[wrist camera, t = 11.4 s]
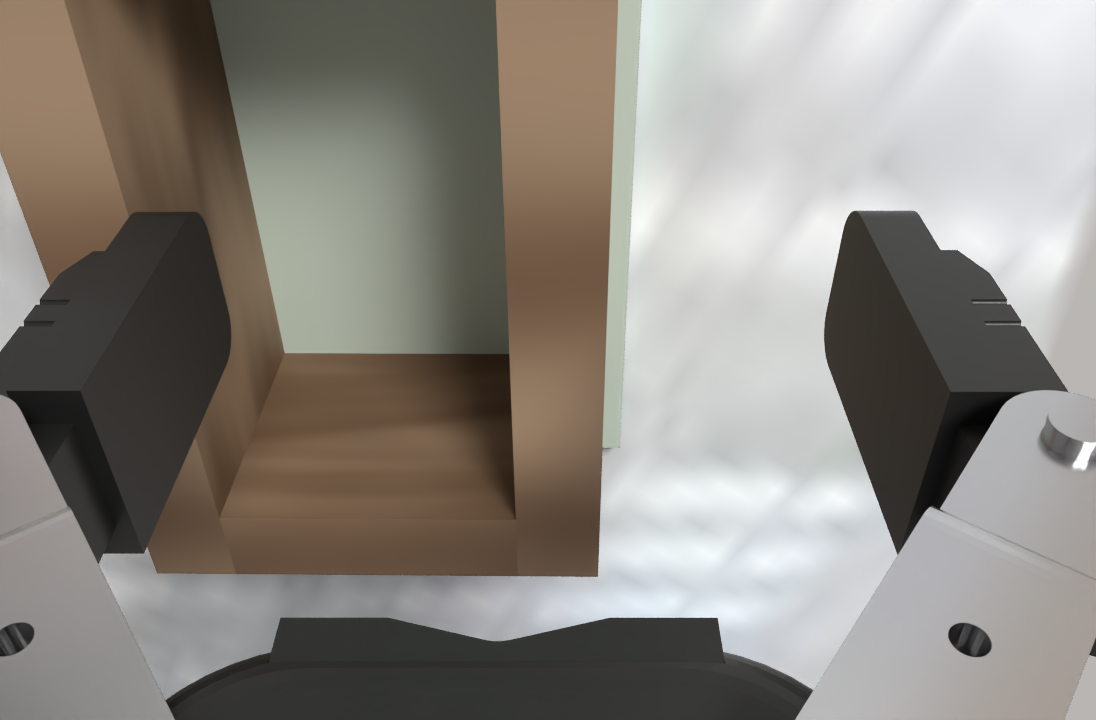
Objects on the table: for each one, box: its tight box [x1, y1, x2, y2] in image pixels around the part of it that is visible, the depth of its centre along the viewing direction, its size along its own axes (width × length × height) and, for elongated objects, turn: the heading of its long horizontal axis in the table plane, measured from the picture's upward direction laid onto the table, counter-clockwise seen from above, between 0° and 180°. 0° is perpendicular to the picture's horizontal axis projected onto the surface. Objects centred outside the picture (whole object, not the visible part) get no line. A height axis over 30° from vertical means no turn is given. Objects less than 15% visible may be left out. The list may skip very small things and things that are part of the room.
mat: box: [210, 0, 642, 448], centre depth 22 cm, size 18×12×1 cm, turn 1°
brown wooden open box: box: [0, 0, 618, 577], centre depth 19 cm, size 16×10×6 cm, turn 1°
